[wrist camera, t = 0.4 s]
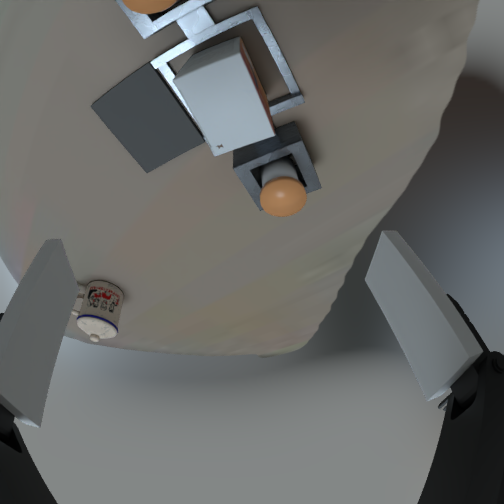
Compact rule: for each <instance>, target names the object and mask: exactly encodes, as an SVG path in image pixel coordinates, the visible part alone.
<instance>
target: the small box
mask: <svg viewBox="0 0 504 504" xmlns="http://www.w3.org/2000/svg"><path fill="white" fill-rule="evenodd" d="M173 83H174V84H175V86H176V87H177V89H178V91H179V92H180V94H181V95H182V97H183V99H184V101H185V102H186V104H187V106H188V108H189V109H190V111H191V113H192V115H193V116H194V118H195V120H196V122H197V124H198V126H199V127H200V129H201V131H202V133H203V135H204V137H205V139H206V140H207V142H208V144H209V146H210V149H211V151H212V153H213V155H214V156H218V155H220V154H223V153H226V152H229V151H232V150H234V149H237V148H240V147H243V146H246V145H249V144H252V143H255V142H258V141H261V140H264V139H267V138H269V137H273V136H275V130H274V126H273V122H272V118H271V113H270V109H269V105H268V100H267V96H266V94H265V92H264V89H263V87H262V85H261V83H260V80H259V78H258V76H257V73H256V71H255V69H254V66H253V64H252V61H251V59H250V57H249V54H248V52H247V50H246V48H245V45H244V43H243V41H242V39H241V37H236V38H233V39H230V40H227V41H225V42H222V43H220V44H217V45H215V46H212V47H210V48H207V49H205V50H202V51H200V52H198V53H196V54H193V55H192V56H191V57H190V59H189V60H188V61H187V62H186V63H185V65H184V66H183V67H182V68H181V70H180V71H179V72H178V74H177V75H176V76H175V77H174V79H173Z"/></svg>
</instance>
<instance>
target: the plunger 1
mask: <svg viewBox="0 0 504 504" xmlns="http://www.w3.org/2000/svg"><path fill="white" fill-rule="evenodd" d="M122 1H123V3H124V4H125V5H126V7H128V8H129V9H130V10H132V11H134V12H137V13H141V14H152V13H157V12H161V11H163V10H166V9H168V8H169V7H171V6H172V5H175V4H177V3H179V2H181V1H182V0H122Z"/></svg>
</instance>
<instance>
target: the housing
mask: <svg viewBox="0 0 504 504" xmlns="http://www.w3.org/2000/svg"><path fill="white" fill-rule="evenodd" d="M213 1H215V0H189V1H188V2H186V3H184V4H182V5H180V6H178V7H177V8H175V9H173V10H171V11H170V12H168V13H166V14H165V15H162V13H161V12H157V13H152V14H141V13H137V12H134V11H132V10H130V9H129V8H128V7H126V5H125V4H124V3H123V1H122V0H116V2H117V3H118V4H119V6H120V7H121V8H122V10H123V11H124V12H125V14H126V15H127V16H128V18H129V19H130V20H131V22H132V23H133V25H134V26H135V27H136V29H137V30H138V31H139V33H140V34H141V36H142V37H143V38H144V39H145V38H147V37H149V36H151V35H153V34H155V33H157V32H159V31H161V30H162V29H164V28H165V27H167V26H169V25H170V24H172V23H174V22H176V21H177V23H178V24H179V26H180V27H181V29H182V30H183V31H184V33H185V34H186V36H187V37H188V39H187V40H185V41H183V42H181V43H180V44H178V45H176V46H174V47H173V48H171V49H169V50H168V51H166V52H164V53H163V54H161V55H160V56H158V57H156V58H155V59H154V60H152V61H151V62H150V63H151V64H152V65H153V67H154V68H155V69H156V68H159V70H160V71H161V73H162V74H163V75H164V77H165V78H166V80H167V81H168V82H169V84H170V85H171V87H172V88H173V90H174V91H175V92H176V94H177V95H178V97H179V98H180V100H181V101H182V102H183V104H184V105H185V107H186V108H187V110H188V111H189V112H190V114H191V115H192V113H191V111H190V109H189V108H188V106H187V104H186V102H185V101H184V99H183V97H182V95H181V94H180V92H179V91H178V89H177V87H176V86H175V84H174V83H173V79H174V77H175V76H176V74H175V73H174V71H173V70H172V68H171V67H170V65H169V64H168V61H169V60H171V59H173V58H174V57H176V56H178V55H180V54H181V53H183V52H185V51H187V50H188V49H190V48H192V47H194V46H196V45H197V44H199V43H201V42H203V41H205V40H207V39H209V38H211V37H213V36H215V35H217V34H219V33H221V32H223V31H225V30H227V29H230V28H232V27H234V26H236V25H239V24H241V23H243V22H245V21H248V20H250V19H253V21H254V23H255V25H256V26H257V28H258V30H259V32H260V34H261V35H262V37H263V39H264V41H265V43H266V45H267V46H268V48H269V50H270V52H271V54H272V56H273V58H274V60H275V62H276V64H277V66H278V68H279V70H280V72H281V74H282V76H283V78H284V80H285V82H286V84H287V86H288V88H289V91H290V93H291V94H288V95H286V96H283V97H281V98H278V99H276V100H273V101H271V102H268V105H269V109H270V113H271V116H272V115H274V114H277V113H279V112H282V111H284V110H287V109H289V108H292V107H294V106H297V105H300V104H302V103H305V101H304V99H303V97H302V94H301V93H300V91H299V89H298V86H297V84H296V82H295V80H294V78H293V76H292V73H291V71H290V69H289V67H288V65H287V63H286V61H285V59H284V57H283V55H282V53H281V51H280V49H279V47H278V45H277V43H276V41H275V39H274V37H273V35H272V33H271V31H270V30H269V28H268V26H267V24H266V22H265V20H264V19H263V17H262V14H261V12H260V11H259V9H258V7H257V6H256V7H254V8H251V9H249V10H246V11H244V12H241V13H239V14H237V15H235V16H232V17H230V18H228V19H226V20H224V21H222V22H219V23H217V24H215V22H214V21H213V19H212V18H211V16H210V14H209V13H208V11H207V10H206V8H205V7H204V6H205V5H207V4H209V3H211V2H213ZM192 117H193V118H194V116H193V115H192ZM194 120H195V118H194ZM195 121H196V120H195ZM196 123H197V122H196ZM274 130H275V136H273V137H269V138H267V139H264V140H261V141H258V142H255V143H252V144H249V145H246V146H243V147H240V148H237V149H234V150H233V169H234V171H235V172H236V174H237V176H238V177H239V179H240V180H241V182H242V183H243V185H244V186H245V188H246V189H247V191H248V193H249V194H250V196H251V197H252V199H253V200H254V202H255V203H256V205H257V207H258V208H259V210H260V211H261V210H264V209H263V208H262V206H261V203H260V191H261V189H262V187H263V186H262V178H261V169H260V167H259V166H261V165H263V164H266V163H268V162H271V161H273V160H276V159H278V158H281V157H283V156H286V155H288V154H291V153H292V154H293V156H294V158H295V160H296V162H297V165H294V166H295V169H296V173H297V177H298V180H299V181H300V182H301V183H302V184H303V186H304V188H305V192H306V194H307V193H309V192H312V191H315V190H318V189H321V188H322V187H321V184H320V182H319V179H318V176H317V173H316V170H315V168H314V165H313V163H312V160H311V158H310V156H309V153H308V151H307V149H306V146H305V144H304V142H303V139H302V137H301V135H300V133H299V130H298V128H297V126H296V124H295V122H294V121H293V122H291V123H288V124H286V125H283V126H281V127H278V128H276V129H275V128H274ZM204 139H205V137H204ZM205 141H206V142H207V140H206V139H205ZM207 144H208V142H207Z"/></svg>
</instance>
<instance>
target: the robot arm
mask: <svg viewBox="0 0 504 504" xmlns="http://www.w3.org/2000/svg"><path fill="white" fill-rule="evenodd" d="M365 281H366V283H367V285H368V286H369V288H370V290H371V292H372V293H373V295H374V297H375V299H376V300H377V302H378V304H379V306H380V308H381V310H382V311H383V313H384V315H385V317H386V319H387V321H388V323H389V324H390V326H391V328H392V330H393V332H394V334H395V336H396V338H397V340H398V342H399V344H400V346H401V348H402V350H403V352H404V354H405V356H406V358H407V360H408V362H409V364H410V366H411V368H412V370H413V372H414V374H415V377H416V379H417V381H418V383H419V385H420V387H421V390H422V392H423V394H424V396H425V398H426V401H429V400H431V399H434V398H436V397H439V396H441V395H442V394H443V393H444V392H445V391H446V390H447V389H449V388H451V390H452V393H451V394H450V395H449V396H447V397H446V398H445V399H444V400H443V401H442V402H441V403H440V404H439V406H438V408H439V409H440V408H441V407H442V406H444V405H445V404H446V403H447V406H446V407H445V408H444V409H443V410H444V411H446V412H445V417H444V421H443V426H442V430H441V434H440V438H439V441H438V445H437V449H436V452H435V456H434V459H433V462H432V465H431V468H430V471H429V474H428V477H427V480H426V483H425V486H424V488H423V491H422V494H421V496H420V499H419V501H418V504H504V355H502V354H501V353H500V352H496V351H493V352H490V351H489V349H488V348H487V346H486V345H485V343H484V342H483V340H482V338H481V337H480V335H479V334H478V332H477V330H476V329H475V327H474V326H473V324H472V323H471V322H470V321H469V318H468V317H467V315H466V314H464V311H463V309H462V308H461V307H460V305H459V304H458V302H457V301H455V300H454V299H453V298H452V297H451V296H450V295H449V294H445V292H444V291H443V290H442V288H441V287H440V285H439V284H438V283H437V281H436V280H435V279H434V277H433V276H432V275H431V273H430V272H429V271H428V270H427V268H426V267H425V266H424V264H423V263H422V262H421V261H420V259H419V258H418V257H417V255H416V254H415V253H414V252H413V250H412V249H411V248H410V247H409V246H408V244H407V243H406V242H405V241H404V240H403V238H402V237H401V236H400V235H399V234H398V232H397V231H382V233H381V236H380V239H379V242H378V245H377V248H376V250H375V253H374V256H373V259H372V262H371V265H370V267H369V270H368V272H367V275H366V278H365ZM79 291H80V289H79V287H78V284H77V282H76V279H75V277H74V274H73V271H72V269H71V266H70V263H69V261H68V258H67V255H66V252H65V249H64V246H63V243H62V240H61V239H50V240H46V241H45V242H44V244H43V246H42V247H41V249H40V250H39V252H38V253H37V255H36V257H35V258H34V260H33V262H32V263H31V265H30V267H29V268H28V270H27V272H26V273H25V275H24V277H23V279H22V280H21V282H20V284H19V286H18V288H17V289H16V291H15V293H14V295H13V297H12V299H11V301H10V303H9V305H8V307H7V309H6V311H5V313H1V314H0V504H57V502H56V500H55V499H54V497H53V496H52V494H51V492H50V491H49V489H48V487H47V486H46V484H45V482H44V480H43V479H42V477H41V475H40V473H39V471H38V470H37V468H36V466H35V464H34V462H33V460H32V458H31V456H30V454H29V452H28V450H27V447H26V445H25V444H24V441H23V439H22V436H21V434H20V432H19V429H18V428H17V426H16V424H15V423H14V422H13V421H14V417H16V418H18V419H19V420H20V421H21V422H23V423H24V424H28V425H31V426H35V427H39V428H40V427H41V422H42V416H43V412H44V407H45V402H46V398H47V393H48V389H49V385H50V380H51V377H52V373H53V369H54V366H55V362H56V359H57V355H58V352H59V348H60V345H61V342H62V338H63V336H64V332H65V329H66V326H67V324H68V321H69V318H70V315H71V312H72V309H73V307H74V304H75V301H76V298H77V296H78V293H79Z"/></svg>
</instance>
